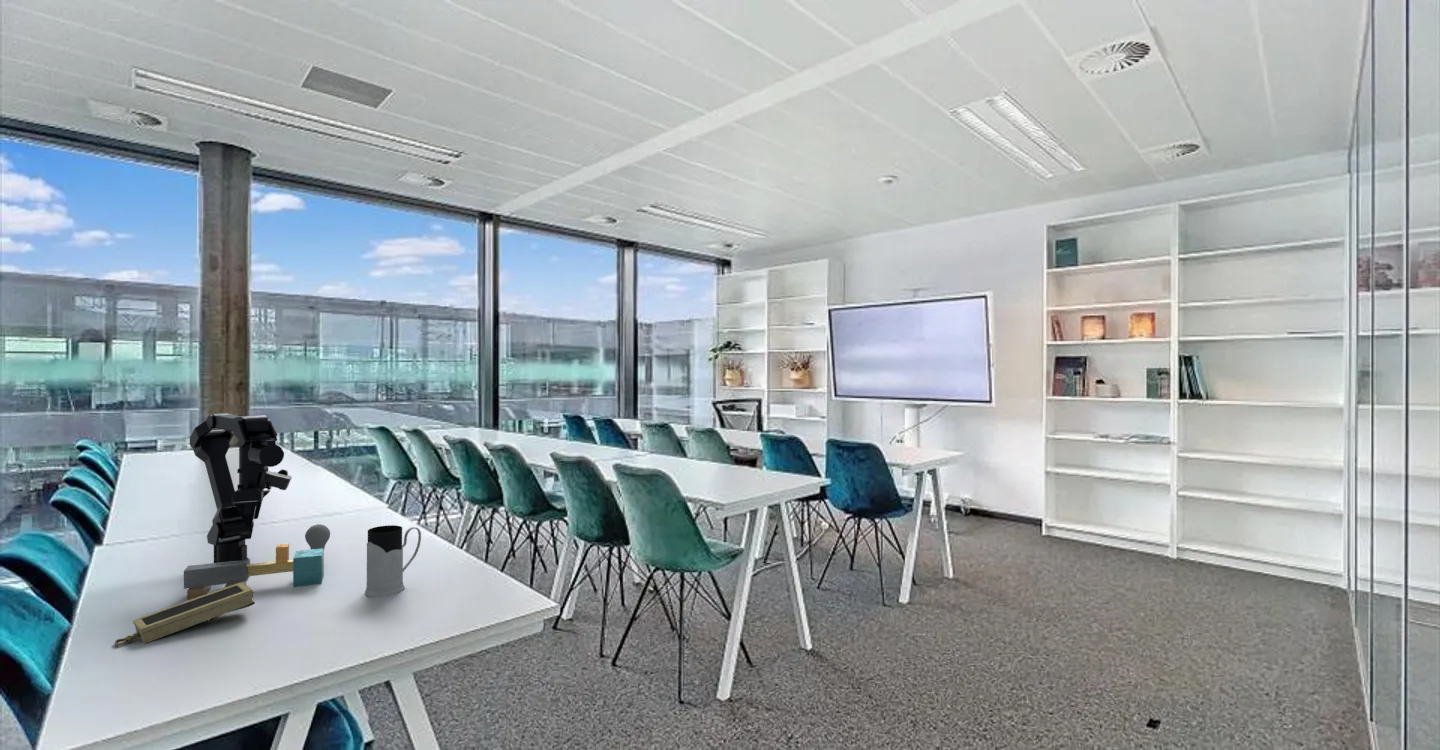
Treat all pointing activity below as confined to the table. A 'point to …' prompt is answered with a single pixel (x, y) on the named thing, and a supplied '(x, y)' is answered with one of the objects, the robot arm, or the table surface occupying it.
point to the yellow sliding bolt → (273, 563)
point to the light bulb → (317, 536)
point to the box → (190, 613)
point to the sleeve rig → (205, 575)
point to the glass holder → (386, 560)
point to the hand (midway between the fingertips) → (252, 522)
